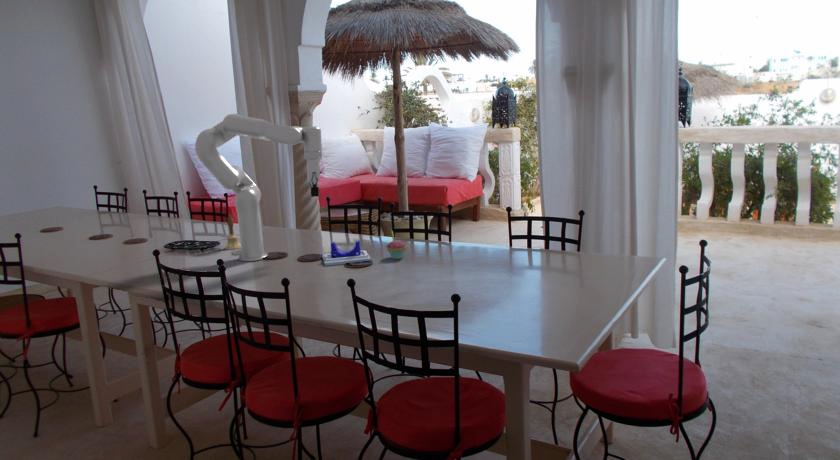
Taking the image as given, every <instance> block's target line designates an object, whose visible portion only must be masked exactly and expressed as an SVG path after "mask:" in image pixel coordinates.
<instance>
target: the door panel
mask: <svg viewBox="0 0 840 460" xmlns="http://www.w3.org/2000/svg"><path fill="white" fill-rule="evenodd" d="M360 251H361V255H360V256H352V257H342V258H331V253H323V254H321V255H322V256H321V257H322V260H323V262H324V263H323V264H324V266H325V267H330V266H339V265H347V264H346V263H349V262H357V261H370V262H372V259H371V258H372V257H371V256H370V255H369V252H367V250H366V249H364V250H363V249H362V250H361V249H360ZM356 254H359V253H358V252H356ZM335 255H336V254H335Z"/></svg>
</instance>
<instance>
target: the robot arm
mask: <svg viewBox="0 0 840 460" xmlns="http://www.w3.org/2000/svg"><path fill="white" fill-rule="evenodd" d="M237 136H240V137H246V138H250V139H256V140H262V141H268V142H273V143H277V144H282V145H289V146H294V145H298V144H302V143H303V157H304V158H303V159H304V160H306V172H307V173H306V174H307V175H306V176H307V177H306V178H307V182H308V183H310V194H311V197H312V198H313V197H319V196H320V194H319V193H320V188H319V182H320V169H321V168H320V160H323V151H322V150H323V148H322V129H321V128H320V127H319V126H313V125H312V126H298V125H297V126H296V125H293V126H287V125H282V124H276V123H273V122H269V121H268V120H266V119H262V118H257V117H252V116H246V115H241V114H238V113H231V114H227V115H226V116H224V118H223V119H222V121H220V122H219V123H217V124H216V125H214V126H213V127H211V128H207V129H203V130H202V131H201V132H200V133H199V134H198V135H197V138H196V140H195V145H194V149H195V150H194V151H195V153H196V156H197V158H198V160H199V161H200V163H201V164H202V165H204V167H205V168H206V170H207V171H208V172H210V175H212V176H213V177H214V178H215V179H216V181H218V183H219V184H220V185H221V186H222V188H224V189H226V190H227V191H228V190H230V191H232V192H234V194H235V197H234V205H235V209H236V216H237V223H238V231H239V240H240V244H241V248H239V249H237V250H230V255H231V256H234V257H235V256H236V257H237V256H238V260H239V261H241V262H255V261H256V262H257V261H261V260H264V259H263V258H265V257H267V256H268V257H269V254H268V253H267V252H265V250H264V249H265V248H264V247H265V246H264V240H263V239H264V238H263V230H262V229H263V228H262V222H261V218H262V217H261V212H260V206H259V203H260V201H261V200H262V192H261V189H260V188H259V187H258V185H257V184H256V183H255V182H254V181H253V180H252V178H250V177H249V176H248V175H249V174H247V173H246V172H245V171H244V170H243V169H242V168H241V167H238V166H237V165H232V164H231V163H229V162H228V160H227V159H226V158H225V157H224V155H222V154H221V153H220V152H219V151H218V148H219V147H221V146H223V145H224V144H226V143H228V142H230V141H231V140H232V139H234V138H236V137H237ZM268 257H267V258H268ZM265 259H266V258H265Z"/></svg>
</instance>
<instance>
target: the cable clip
mask: <svg viewBox="0 0 840 460" xmlns="http://www.w3.org/2000/svg"><path fill="white" fill-rule="evenodd" d="M330 248H331V249H330V254H331V258H342V257H352V256H360V255H361V241H360V240H356V241H355V246H354V247H353V248H352V249H351V250H349V251H344V250H341V249H339V248H338V246H337V244H336V241H331V242H330ZM356 252H358V253H359V254H356ZM335 254H336V255H335Z"/></svg>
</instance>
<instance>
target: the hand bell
mask: <svg viewBox="0 0 840 460" xmlns="http://www.w3.org/2000/svg"><path fill="white" fill-rule="evenodd" d="M227 225H228V229H229V236H228V237H227V243H226V245H225V246H224V249H225V250H228V251H235V250H240V249H241V242H239V239H238V236H237V235H235V232H234V218H233V217H232V215H231V214H228V215H227Z"/></svg>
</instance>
